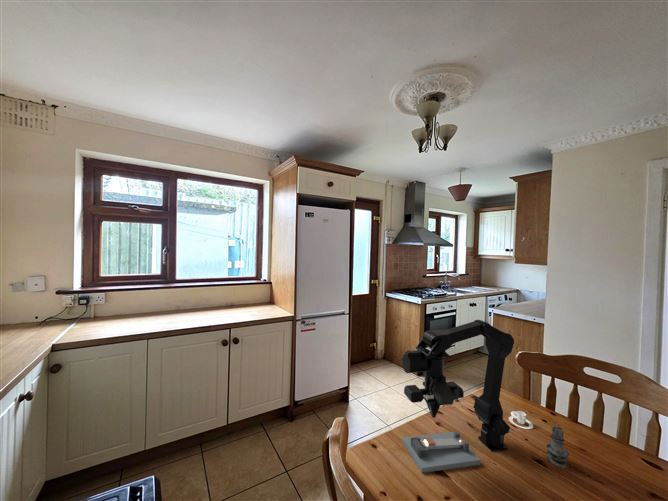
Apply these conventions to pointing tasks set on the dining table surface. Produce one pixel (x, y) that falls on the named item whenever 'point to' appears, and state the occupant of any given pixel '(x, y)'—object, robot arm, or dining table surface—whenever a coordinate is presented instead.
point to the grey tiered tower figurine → (557, 448)
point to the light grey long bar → (441, 443)
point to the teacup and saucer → (520, 419)
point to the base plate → (440, 454)
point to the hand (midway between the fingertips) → (433, 417)
